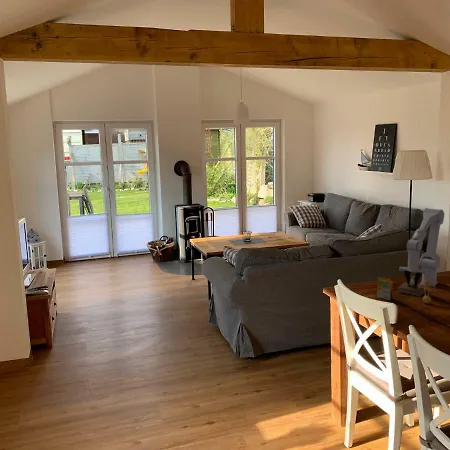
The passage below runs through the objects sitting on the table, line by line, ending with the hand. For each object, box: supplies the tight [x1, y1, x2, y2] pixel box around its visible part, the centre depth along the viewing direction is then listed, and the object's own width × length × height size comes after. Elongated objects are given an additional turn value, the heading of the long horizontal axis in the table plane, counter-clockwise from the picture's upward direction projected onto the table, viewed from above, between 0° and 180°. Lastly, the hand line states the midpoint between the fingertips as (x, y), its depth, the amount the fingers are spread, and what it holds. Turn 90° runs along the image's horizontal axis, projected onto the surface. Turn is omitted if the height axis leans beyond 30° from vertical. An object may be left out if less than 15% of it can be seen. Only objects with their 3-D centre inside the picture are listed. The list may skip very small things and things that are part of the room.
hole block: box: [397, 281, 426, 297], centre depth 261 cm, size 12×12×3 cm
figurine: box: [418, 280, 437, 304], centre depth 243 cm, size 8×6×12 cm
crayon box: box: [376, 276, 394, 301], centre depth 251 cm, size 7×3×12 cm, turn 48°
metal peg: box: [409, 275, 416, 288], centre depth 261 cm, size 3×3×7 cm
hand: (412, 284), depth 261 cm, fingers closed on metal peg, 3 cm apart
